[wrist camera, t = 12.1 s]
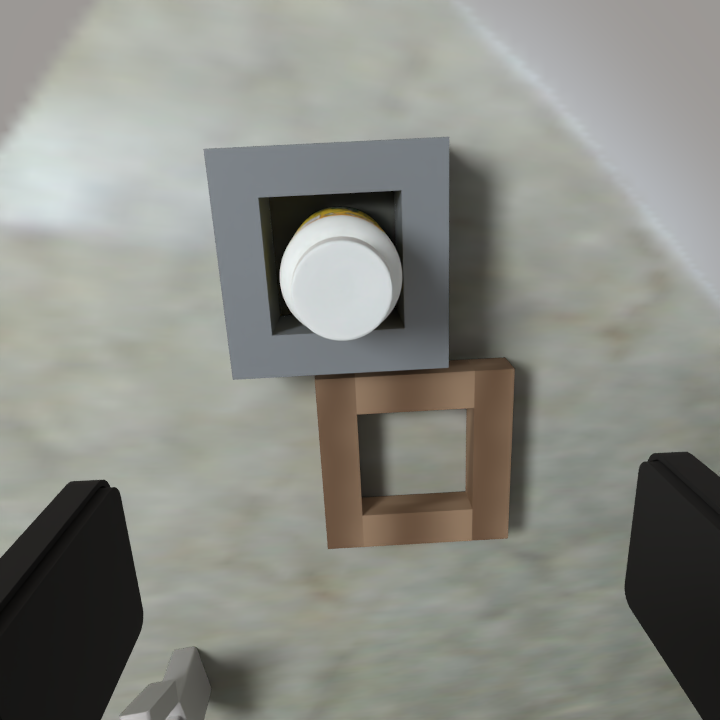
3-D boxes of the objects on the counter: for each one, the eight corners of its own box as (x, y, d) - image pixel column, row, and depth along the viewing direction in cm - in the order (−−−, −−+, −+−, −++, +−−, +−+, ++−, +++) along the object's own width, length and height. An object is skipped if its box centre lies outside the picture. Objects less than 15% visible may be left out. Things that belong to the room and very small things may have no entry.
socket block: (435, 140, 29) (449, 136, 26) (436, 344, 33) (448, 367, 29) (221, 151, 29) (203, 148, 25) (245, 355, 33) (232, 379, 29)
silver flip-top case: (212, 690, 41) (182, 810, 33) (188, 694, 41) (153, 815, 33) (183, 612, 38) (145, 721, 31) (158, 616, 38) (113, 726, 31)
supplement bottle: (271, 256, 31) (241, 292, 22) (339, 183, 30) (338, 188, 21) (342, 323, 32) (343, 383, 23) (410, 255, 31) (438, 290, 22)
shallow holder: (504, 357, 33) (514, 368, 31) (499, 519, 37) (507, 538, 35) (316, 367, 33) (314, 379, 31) (328, 529, 37) (327, 548, 35)
